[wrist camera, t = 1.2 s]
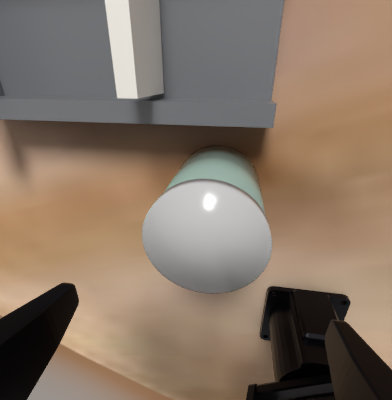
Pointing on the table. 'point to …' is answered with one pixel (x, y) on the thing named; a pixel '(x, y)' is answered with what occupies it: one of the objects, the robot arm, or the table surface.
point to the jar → (210, 224)
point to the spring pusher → (135, 47)
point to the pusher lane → (171, 60)
